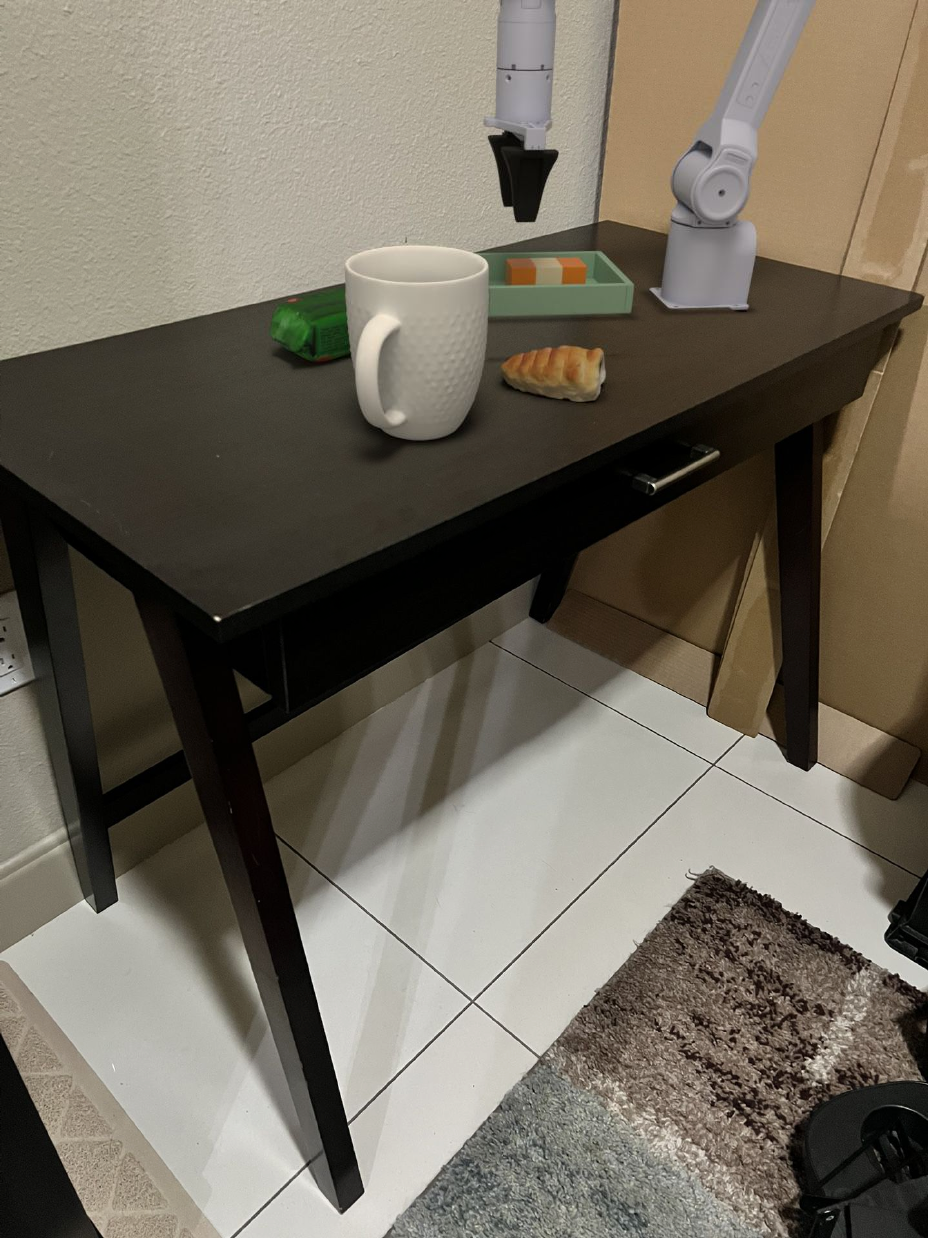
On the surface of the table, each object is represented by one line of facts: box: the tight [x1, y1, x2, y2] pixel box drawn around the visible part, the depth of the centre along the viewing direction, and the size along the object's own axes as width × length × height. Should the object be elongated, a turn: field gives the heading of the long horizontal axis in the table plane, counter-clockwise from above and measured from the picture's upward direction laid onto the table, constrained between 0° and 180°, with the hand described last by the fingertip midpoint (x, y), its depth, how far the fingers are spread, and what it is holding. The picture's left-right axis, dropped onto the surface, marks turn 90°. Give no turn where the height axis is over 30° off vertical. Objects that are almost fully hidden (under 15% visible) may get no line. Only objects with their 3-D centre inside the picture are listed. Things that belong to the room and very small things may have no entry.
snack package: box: [269, 286, 351, 363], centre depth 91 cm, size 7×16×5 cm, turn 131°
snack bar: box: [505, 258, 587, 286], centre depth 105 cm, size 8×4×4 cm, turn 97°
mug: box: [344, 244, 489, 441], centre depth 72 cm, size 15×11×13 cm
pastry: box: [500, 344, 607, 403], centre depth 83 cm, size 9×7×4 cm
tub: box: [474, 250, 635, 318], centre depth 106 cm, size 17×15×4 cm
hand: (518, 213), depth 100 cm, fingers open, 7 cm apart
